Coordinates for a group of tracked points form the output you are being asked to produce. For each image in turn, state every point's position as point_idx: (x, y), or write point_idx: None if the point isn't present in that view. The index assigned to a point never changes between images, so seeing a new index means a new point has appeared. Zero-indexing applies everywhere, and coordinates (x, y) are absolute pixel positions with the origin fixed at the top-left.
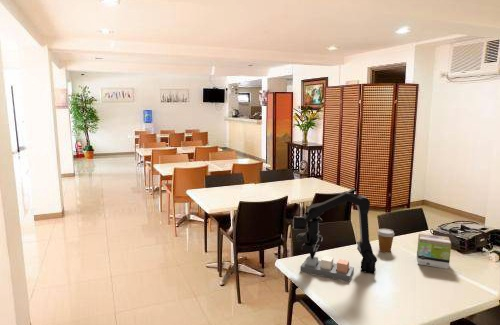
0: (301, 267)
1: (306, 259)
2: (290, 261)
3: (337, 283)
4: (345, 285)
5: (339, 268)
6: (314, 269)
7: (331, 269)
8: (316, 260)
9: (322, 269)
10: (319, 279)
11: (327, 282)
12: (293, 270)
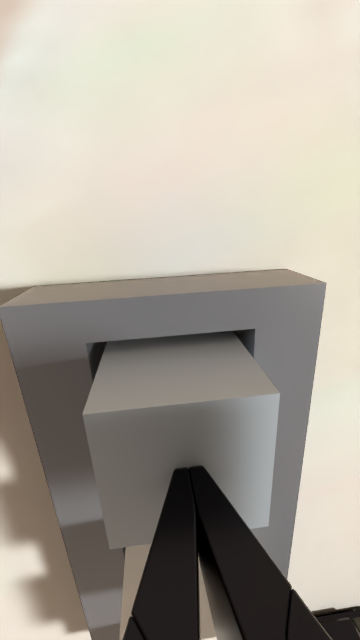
0: (8, 318)
1: (84, 416)
2: (269, 9)
3: (40, 591)
4: (48, 625)
5: None
6: (49, 476)
7: None
8: None
9: (94, 538)
10: (8, 491)
11: (4, 547)
12: (10, 188)
